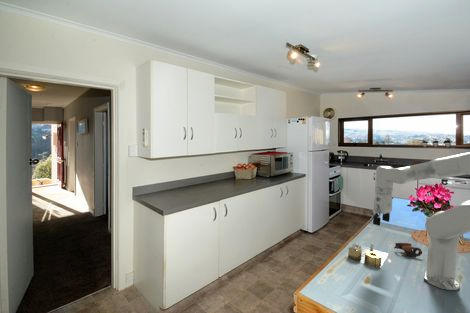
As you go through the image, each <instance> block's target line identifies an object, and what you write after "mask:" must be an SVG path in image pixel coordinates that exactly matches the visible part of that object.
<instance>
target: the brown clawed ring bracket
mask: <svg viewBox="0 0 470 313" xmlns="http://www.w3.org/2000/svg"><path fill="white" fill-rule="evenodd" d="M393 249H395V250H396V249H398V250H402V251H404V254H400V256H402V257H406V258H414V259H416V258H417V257H421V255H422V254H423V251H422V249H421V248H420V247H414V246H412V243H409V242H396V243H394V247H393ZM417 251H418V252H417Z"/></svg>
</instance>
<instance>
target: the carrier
mask: <svg viewBox="0 0 470 313" xmlns="http://www.w3.org/2000/svg"><path fill="white" fill-rule="evenodd" d="M374 244H375V243H373V242H370V247H368V246H363V245H361V244H359V243H353V244H351V245H352V246H350V247H348V252H347V254H346V255H345V256H344V258H346V259H349V260H352V261H354V262H358V263H361V264H364V265H365V266H369V267H372V268H375V269H378V270H380V269H381V268H382V266H383V265H384V262H385V261H386V259H387V257H388V256H389V253H387V252H384V251H381V250H377V249H374ZM368 251H371V252H377V253H378V254H380V255H381V256H382V260H381V265H379V266H374V265H373V266H372V265H369V264H368V263H366V262H365V252H368Z"/></svg>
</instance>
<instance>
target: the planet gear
mask: <svg viewBox="0 0 470 313" xmlns="http://www.w3.org/2000/svg"><path fill="white" fill-rule="evenodd" d="M381 260H382V256H381V255H380V254H378V253H377V252H371V251H368V252H365V262H366V263H368V264H369V265H372V266H373V265H374V266H379V265H381ZM369 265H368V266H369ZM372 266H371V267H372Z"/></svg>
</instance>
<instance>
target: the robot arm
mask: <svg viewBox="0 0 470 313" xmlns="http://www.w3.org/2000/svg"><path fill="white" fill-rule="evenodd" d="M375 171H376V172H375V185H374V193H375V194H374V195H375V196H374V201H373V209H372V216H373V217H372V225H376V226H379V227H380V226H381V217H382V221H383V222H387V223H388V222H389V223H390V218H391V212H392V211H393V186H394V184H399V185H404V184H406V183H409V182H414V181H420V180H426V179H447V178H453V177H459V176H465V175H469V176H470V151H469V152H463V153H460V154H454V155H450V156H445V157H440V158H436V159H435V158H434V159H431V160H430V161H425V162H422V163H416V164H413V165H407V166H403V167H397V168H396V167H395V168H394V167H393V166H388V165H378V166H377V167H376V169H375ZM381 215H382V216H381ZM424 228H425V230H426V232H427V233H428V235H429V238H428V245H427V246H428V249H427V259H426V270H425V272H424V277H423V280H424V281H425V282H426V283H428V284H430V285H431V286H433V287H436V288H438V289H441V290H447V291H457V290H459V288H460V283H459V282H458V281H457V280H456V273H457V272H456V270H457V260H458V259H457V258H458V251H459V242H460V236H462V235H464V234H467V233H470V199H467V200H464V201H462V202H460V203H459V204H457V205H456V206H454V207H451V208H449V209H446V210H440V211H436V212H434V213H433V214H431V216H429V217H428V218H427V220H426V221H425V223H424Z"/></svg>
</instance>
